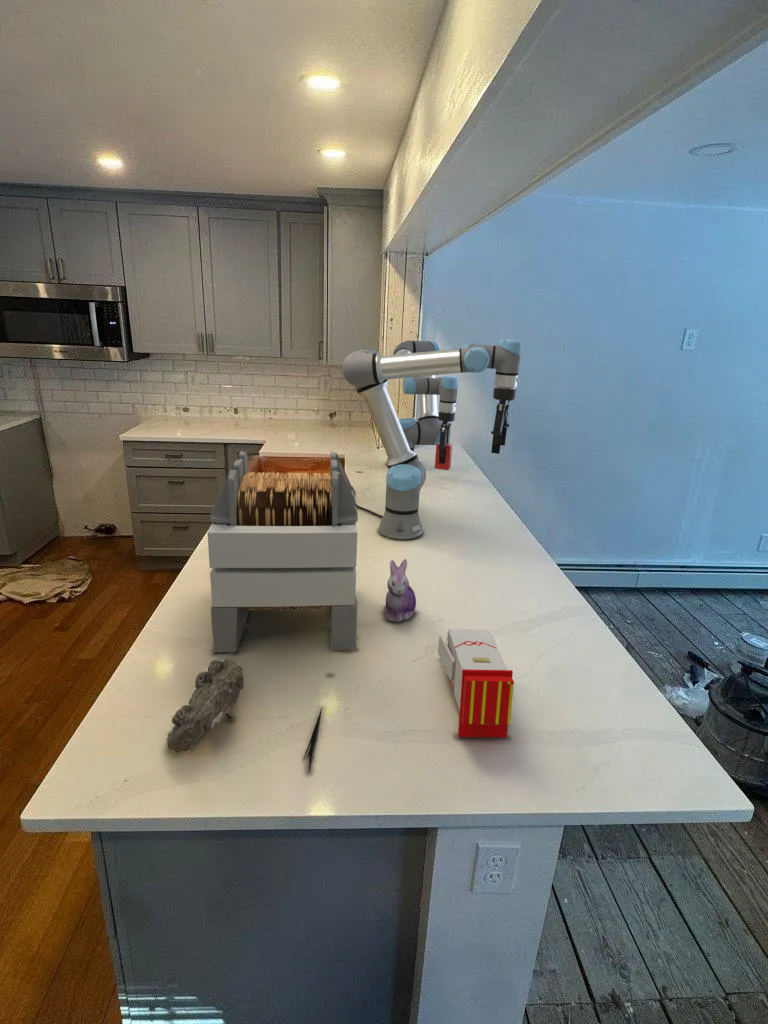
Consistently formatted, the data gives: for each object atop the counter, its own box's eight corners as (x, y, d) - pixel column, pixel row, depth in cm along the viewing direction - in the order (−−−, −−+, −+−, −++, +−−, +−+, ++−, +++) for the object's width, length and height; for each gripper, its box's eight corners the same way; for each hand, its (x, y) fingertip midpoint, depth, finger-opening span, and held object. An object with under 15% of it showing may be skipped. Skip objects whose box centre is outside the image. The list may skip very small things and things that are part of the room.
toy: (488, 613, 130) (523, 677, 101) (484, 667, 133) (517, 744, 104) (435, 612, 130) (455, 676, 101) (432, 666, 133) (451, 743, 103)
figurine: (392, 627, 141) (395, 572, 136) (374, 608, 149) (376, 556, 144) (425, 619, 145) (429, 566, 140) (405, 601, 154) (408, 550, 149)
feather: (331, 679, 122) (336, 673, 122) (307, 777, 96) (313, 769, 95) (324, 675, 122) (329, 669, 121) (298, 772, 95) (304, 764, 95)
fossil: (192, 660, 117) (244, 628, 112) (224, 691, 120) (276, 661, 115) (142, 746, 98) (202, 712, 93) (182, 779, 101) (242, 748, 96)
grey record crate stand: (232, 584, 158) (225, 442, 144) (349, 583, 162) (353, 444, 148) (211, 655, 127) (198, 480, 113) (357, 651, 130) (362, 482, 117)
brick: (448, 470, 261) (450, 446, 257) (434, 468, 262) (436, 444, 258) (450, 467, 265) (452, 443, 261) (436, 466, 267) (438, 442, 263)
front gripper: (511, 393, 179) (504, 458, 186) (520, 384, 202) (513, 443, 209) (488, 390, 181) (481, 455, 189) (499, 382, 204) (493, 440, 211)
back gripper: (451, 415, 245) (447, 467, 254) (458, 409, 261) (454, 458, 270) (434, 414, 247) (430, 465, 255) (442, 407, 263) (438, 456, 271)
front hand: (498, 449), depth 199 cm, fingers open, 13 cm apart
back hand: (442, 461), depth 263 cm, fingers closed on brick, 5 cm apart
